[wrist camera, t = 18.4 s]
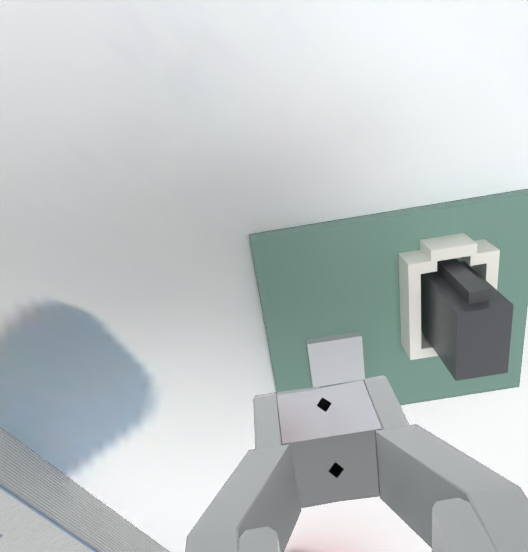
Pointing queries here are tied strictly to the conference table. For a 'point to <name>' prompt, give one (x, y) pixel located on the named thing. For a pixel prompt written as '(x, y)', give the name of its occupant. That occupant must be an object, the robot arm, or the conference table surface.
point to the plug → (466, 320)
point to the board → (386, 293)
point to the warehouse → (56, 510)
